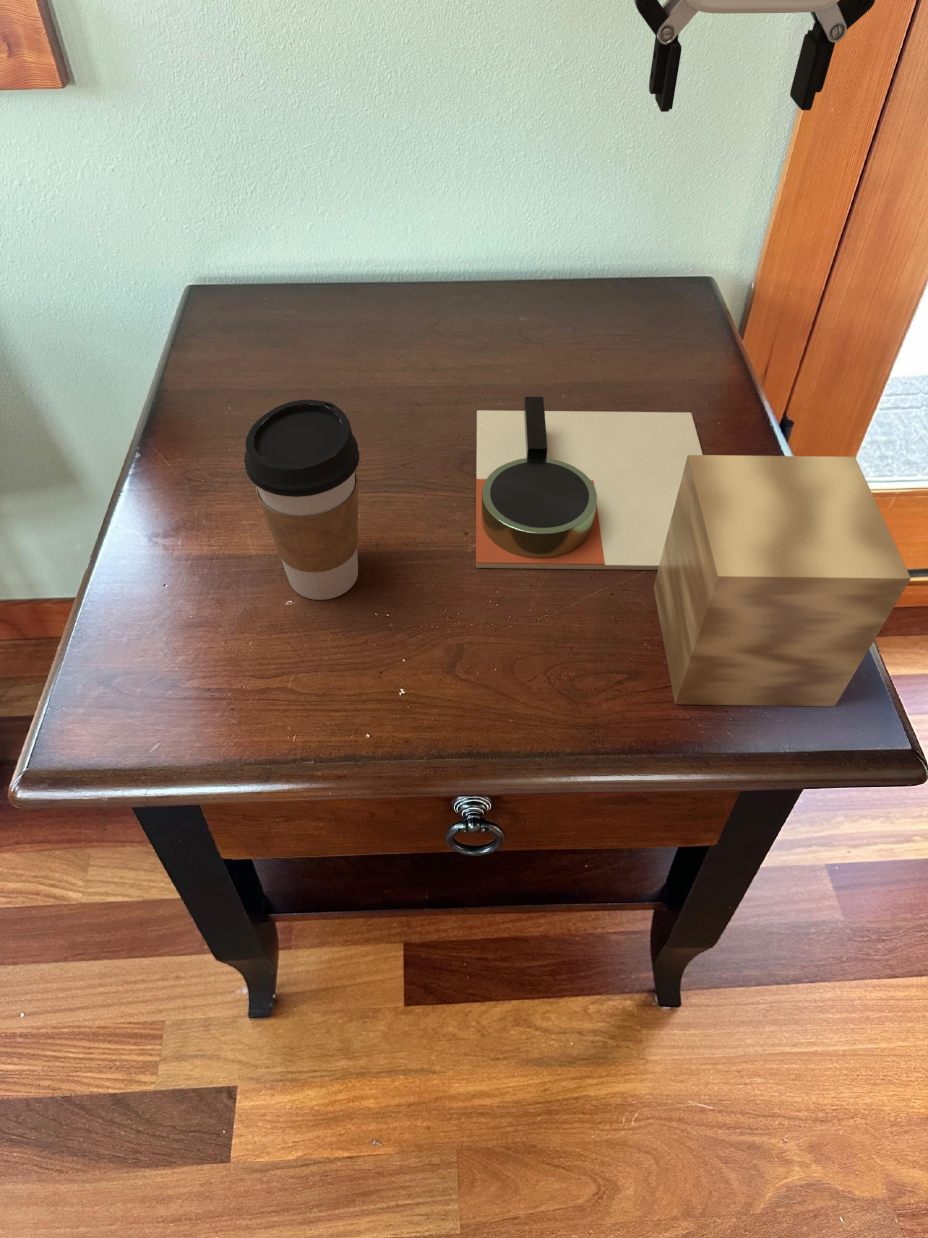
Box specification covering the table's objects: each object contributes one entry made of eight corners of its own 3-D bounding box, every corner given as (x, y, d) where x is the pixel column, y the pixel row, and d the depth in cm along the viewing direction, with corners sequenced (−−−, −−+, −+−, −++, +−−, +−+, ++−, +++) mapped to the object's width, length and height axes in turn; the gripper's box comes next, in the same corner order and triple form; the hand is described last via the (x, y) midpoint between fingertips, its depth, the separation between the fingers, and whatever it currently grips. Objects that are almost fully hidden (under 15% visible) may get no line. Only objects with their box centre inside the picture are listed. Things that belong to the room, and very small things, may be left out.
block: (795, 588, 70) (855, 456, 60) (835, 706, 62) (911, 578, 52) (653, 587, 70) (687, 454, 60) (674, 704, 63) (718, 576, 52)
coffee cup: (392, 563, 72) (379, 419, 61) (331, 626, 67) (305, 483, 56) (316, 527, 75) (290, 383, 64) (253, 585, 70) (212, 441, 59)
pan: (481, 429, 83) (482, 395, 80) (581, 430, 83) (586, 396, 80) (481, 558, 72) (482, 523, 69) (597, 559, 72) (603, 525, 68)
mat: (690, 417, 86) (691, 411, 85) (731, 571, 72) (733, 565, 71) (476, 414, 86) (476, 409, 86) (475, 568, 72) (475, 562, 71)
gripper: (656, -238, 43) (614, 124, 56) (989, -243, 43) (871, 122, 56) (636, -248, 48) (602, 88, 61) (935, -252, 48) (838, 85, 61)
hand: (731, 104), depth 59 cm, fingers open, 9 cm apart
